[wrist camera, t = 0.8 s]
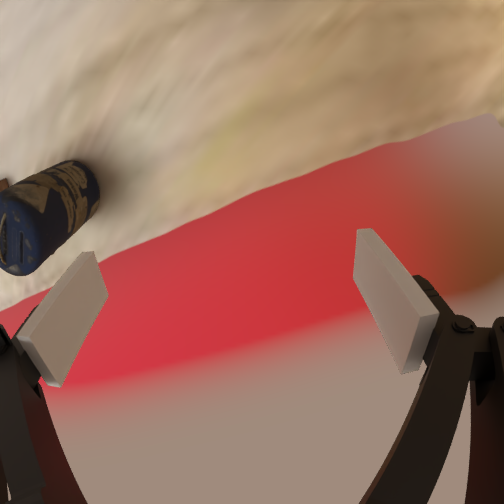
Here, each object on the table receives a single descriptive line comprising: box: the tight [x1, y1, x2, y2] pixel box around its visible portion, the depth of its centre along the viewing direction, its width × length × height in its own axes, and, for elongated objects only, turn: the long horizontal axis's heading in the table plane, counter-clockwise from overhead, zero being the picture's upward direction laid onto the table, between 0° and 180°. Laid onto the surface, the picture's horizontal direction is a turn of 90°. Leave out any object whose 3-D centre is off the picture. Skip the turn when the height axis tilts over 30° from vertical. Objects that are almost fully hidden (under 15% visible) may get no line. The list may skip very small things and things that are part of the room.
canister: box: [0, 161, 99, 276], centre depth 31 cm, size 10×10×18 cm
